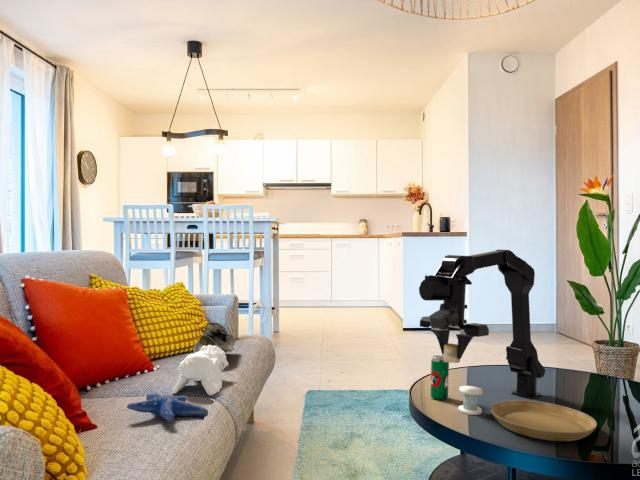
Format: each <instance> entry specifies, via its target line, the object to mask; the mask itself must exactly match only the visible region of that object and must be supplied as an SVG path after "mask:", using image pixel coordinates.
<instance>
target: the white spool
mask: <svg viewBox="0 0 640 480" xmlns="http://www.w3.org/2000/svg"><path fill="white" fill-rule="evenodd" d="M458 392H459V393H461V394H463V403H462V404H461V405H458V412H460V413H461V414H464V415H469V416H480V415H481V414H482V413H483V412H482V411H483V409H482V408H481V407H480V406H478V397H479V396H481V395H483V389H482V388H481V387H477V386H473V385H462V386H459V388H458Z"/></svg>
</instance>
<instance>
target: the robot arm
mask: <svg viewBox="0 0 640 480" xmlns="http://www.w3.org/2000/svg"><path fill="white" fill-rule="evenodd" d="M493 266H497V270H498V272H500V273H501V274H502V275H503V277H504V278H503V279H504V284H505V287H506V288H507V289H508V291H509V293H510V298H511V301H510V302H511V304H510V305H511V325H512V341H511V343H510V345H509V346H506V347H505V351H506V358H505V360H507V364H508V365H509V369H510V372H512V373H516V389H515V390H513V391H511V394H512V395H515V396H521V397H525V398H528V399H535V398H537V397H540V396H542V393H541V392H538V379H542V378H544V376H545V373H546V369H545V367H544V366H543V365H542V363H541V362H540V360H539V355H538V351H537V349H536V347H535V346H534V344H533V342H532V338H531V335H532V334H531V319H530V318H531V317H530V316H531V315H530V314H531V313H530V292H531V290H532V289H533V287H534V285H535V278H536V277H535V276H536V273H535V269H534V268H533V266H531V265H530V264H529V263H528V262H527V261H525V260H524V259H522V258H520V257H519V256H517V255H516V254H515V253H514V252H513V251H511V250H510V249H496V250H493V251H492V250H491V251H487V252H483V253H477V254H471V255H456V254H455V255H454V254H447V255H445V256H443V259H442V261H441V263H440V265H439V266H438V268H437V269H436V271H435V273H434V274H433V275H432V274H431V275H430V274H425V275H424V279H423V280H422V281H421V283H420V285H419V286H418V292H419V295H420V298H421V299H422V300H423V301H425V302H426V301H438V302H439V301H443V302H442V303H440V305H439V310H437V311H435V312H433V313H432V314H430V315H429V316H422V317H421V318H420V320H419V327H422V328H427V329H429V328H431V329H429V331H430V332H432V333H433V334H434V335H435V336H436V339H437V342H438V344H439V349H440V351H441V354H442V355H441V356H443V354H444V344H446V343H449V338H450V331H451V330H455V331H460V332H459V333H456V334H455V336H456V339H457V344H458V348H457V358H458V359H460V360H461V359H462V357H463V355H464V353H465V351H466V349H467V347H468V346H469V344H470V343H471V341H472V339H473V338H474V337H479V338H480V337H485V336H489V334H490V331H489V329H490V328H489V326H488V325H487V324H484V323H477V322H474V323H468V322H467V321H468V320H467V319H465V309H468V304H466V287H467V285H469V286H470V285H473V284H472V281H471V280H470V279H469V278H468V277H467V276H469V275H471V274H473V273H474V272H475V271H476V270H478V269H483V268H488V267H489V268H490V267H493Z"/></svg>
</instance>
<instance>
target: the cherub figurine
mask: <svg viewBox="0 0 640 480" xmlns="http://www.w3.org/2000/svg"><path fill="white" fill-rule="evenodd" d="M226 354H227V352H226V353H225V352H224V351H222V349H220V348H219V347H217V346H215V345H214V346H212V345H208V346H205V345H204V346H202V347H201V350H200V351H199V352H196V353H194V352H193V353H189V354H188V355H187V356H186V357H185V358H184V360H182V361H181V362H180V363H179V366H178V373H179V374H180V377H179V379H178V380H177V383H176V384H175V385H174V387H173V389H172V391H171V392H172V393H173V394H177V393H178V392H179V391H181V390H182V389H183V388H184V387H185V386H187V385H188V384H189V383H190V381H197V382H199V381H200V383H201V386H203V388H204V390H205V392H206V393H207V395H208V396H210V397H211V396H213V395H214V396H215V394H216V393H219V392H220V391H221V389H222V387H223V386H222V385H223V381H222V375H221V374H222V371H223V370H224V369H225V368H226V367H228V366H229V362H228V360H227V355H226Z"/></svg>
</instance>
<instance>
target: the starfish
mask: <svg viewBox="0 0 640 480" xmlns="http://www.w3.org/2000/svg"><path fill="white" fill-rule="evenodd" d="M145 399H146V400H142V401H138V402H133V403H128V404H127V405H126V408H127V410H131V411H136V412H139V413H150V414H154V415H156V416H159V417H161V418H162V419H164V420H166V421H167V422H172V421H173V420H174V418H175V416H178V417H179V416H182V417H196V418H197V417H199V418H207V416H208V415H209V411H208V409H206V408H205V407H203V406H200V405H197V404H194V403H190V402H187V400H188V397H187V396H186V395H162V394H160V393H149V394H147V395H146V397H145Z"/></svg>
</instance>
